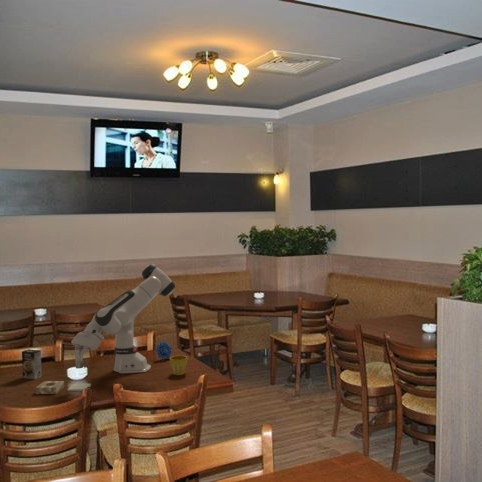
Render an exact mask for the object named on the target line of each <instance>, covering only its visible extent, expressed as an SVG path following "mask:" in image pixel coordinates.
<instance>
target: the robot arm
mask: <svg viewBox="0 0 482 482" xmlns="http://www.w3.org/2000/svg"><path fill="white" fill-rule="evenodd" d="M141 276H142V280H143V281H141V282H140V284H139V285H137V287H135V288H133V289H132V290H130V289H129V290H127V291H125V292H123V293H122V294H120V295H119V296H118V297H116V298H114V300H112V301H111V302H110V303H108V304H107V305H105V306H103V307H100V308H99V309H98V310H97V311H96V312H95V314H94V315H93V317H92V319H91V321H90V322H89V323H88V324H87V326H86V327H85V328H84V330H82V331H79V332H78V333H77V334H76V335H75V336H73V339H72V340H71V344H72V345H73V346H75V347H74V350H73V353H74V354H75V349H82V351H80V353H79V354H80V355H84V354H85V353H86V352H87V351H89V350H92V351H96V350H97V349H98V348H99V347H100V345H101V344H102V341H103V340H104V339H105V336H104V335H103V332H104V333H106V334H108V335H110V336H113V335H114V337H115V338H114V339H115V343H114V344H115V347H114V356H115V361H114V367H113V371H114V372H117V373H119V374H135V373H146V372H149V371H150V370H151V368H152V366H151V364H148V361H147V358H146V357H145V356H144V355H142V354H141V353H140V352H138V346H135V345H134V344H135V343H134V330H135V329H134V325H135V323H134V322H135V318H136V317H137V316H138V315H139V314H140V313H141V311H142V310H144V308H145V307H147V305H149V304H150V302H151V301H153V299H154V298H156V296H157V295H158V294H159V296H161V297H168V296H170V295H172V294H173V292H174V291H175V288H176V284H175V283H174V281H173V280H171V278H170V277H169V275H167V274H166V273H165V272H164V271H163V270H162V269H160V268H159V267H158V265H156V264H155V263H150V264H148V265H145V267H144V268H143V269H142V271H141Z"/></svg>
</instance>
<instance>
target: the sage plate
mask: <svg viewBox="0 0 482 482" xmlns="http://www.w3.org/2000/svg"><path fill="white" fill-rule="evenodd" d="M91 386H92V383H73V384H72V385H70V387H68V388H67V392H83V391H82V390H83V389H84V388H87V387H89V388H90V387H91Z"/></svg>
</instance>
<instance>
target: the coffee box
mask: <svg viewBox="0 0 482 482" xmlns="http://www.w3.org/2000/svg"><path fill="white" fill-rule="evenodd" d="M21 366H22V378H23V379H29V380H36V379H37V380H38V379H39V378H41V377H42V351H41V350H39V349H31V348H29V349H25V350H22V351H21Z"/></svg>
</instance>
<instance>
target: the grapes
mask: <svg viewBox="0 0 482 482" xmlns="http://www.w3.org/2000/svg"><path fill="white" fill-rule="evenodd" d="M155 347H156V348H155V351H154V352H155V353H156V356H157V357H158V358H161V359H162V360H166V359H170V357H171V355H172V354H173V350H172V348H173V347H172V346H171V345H169V342H167V341H165V342H164V341H160V342H159V343H157V344H156V345H155Z"/></svg>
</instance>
